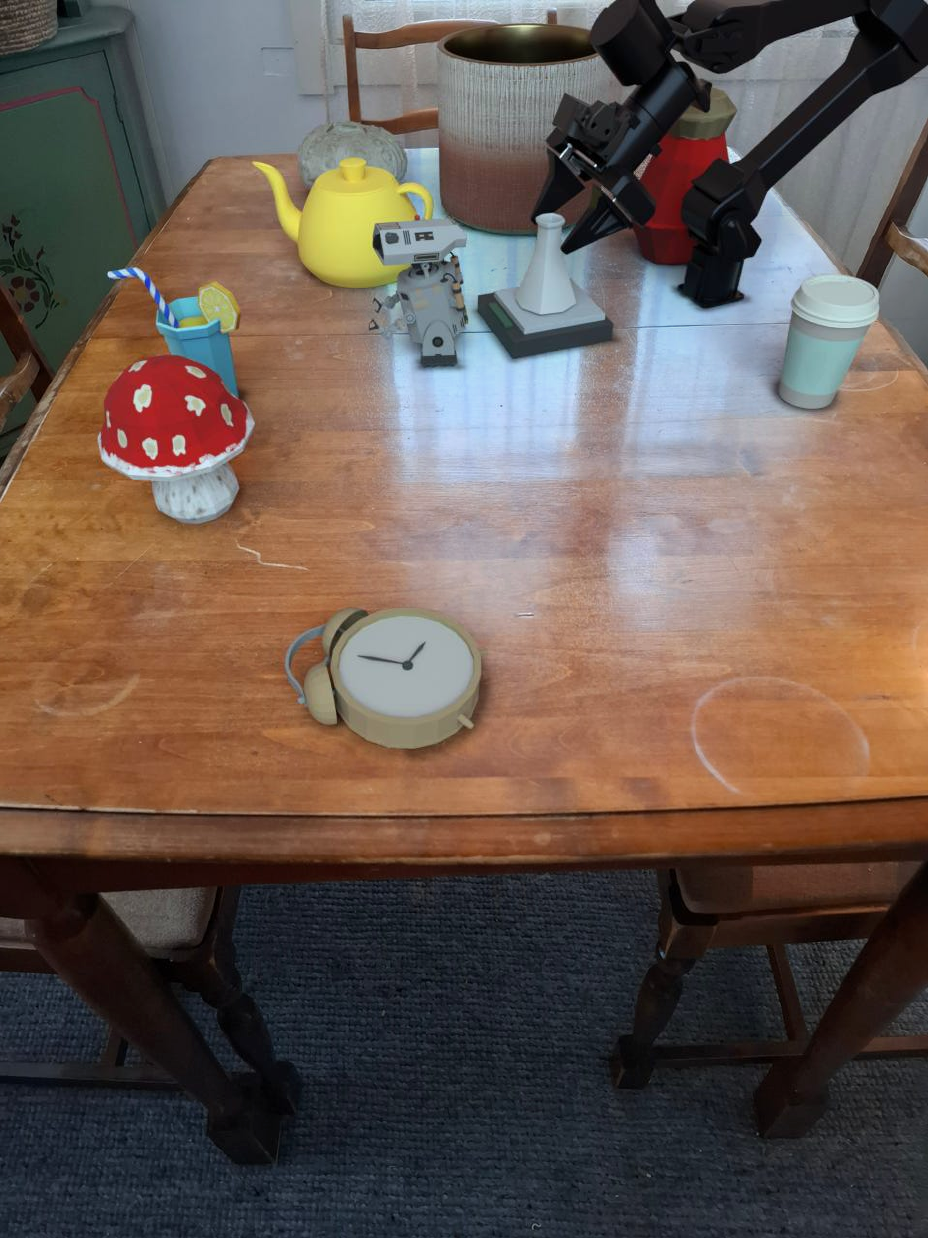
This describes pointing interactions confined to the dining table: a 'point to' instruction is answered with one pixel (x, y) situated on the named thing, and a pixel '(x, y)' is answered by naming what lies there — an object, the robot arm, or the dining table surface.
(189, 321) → the cup
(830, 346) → the coffee cup
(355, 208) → the teapot
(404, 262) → the figurine
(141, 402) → the decorative mushroom
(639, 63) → the robot arm
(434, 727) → the alarm clock
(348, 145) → the decorative shell
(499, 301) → the kitchen scale
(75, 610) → the dining table surface
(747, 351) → the dining table surface
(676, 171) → the bottle
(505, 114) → the planter
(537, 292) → the grey faceted vase
